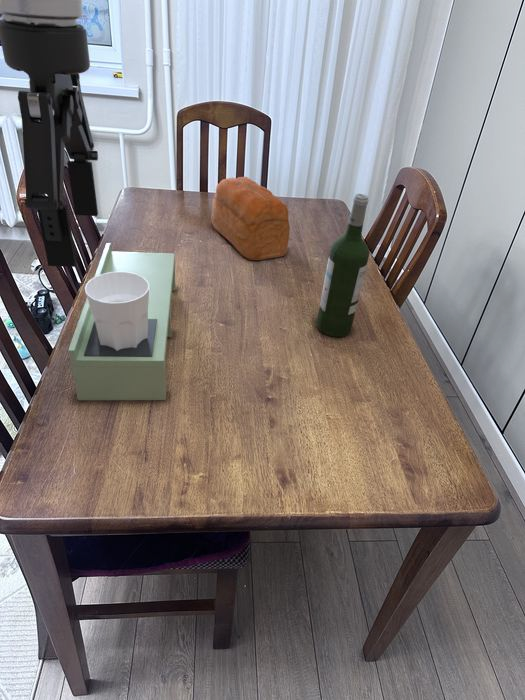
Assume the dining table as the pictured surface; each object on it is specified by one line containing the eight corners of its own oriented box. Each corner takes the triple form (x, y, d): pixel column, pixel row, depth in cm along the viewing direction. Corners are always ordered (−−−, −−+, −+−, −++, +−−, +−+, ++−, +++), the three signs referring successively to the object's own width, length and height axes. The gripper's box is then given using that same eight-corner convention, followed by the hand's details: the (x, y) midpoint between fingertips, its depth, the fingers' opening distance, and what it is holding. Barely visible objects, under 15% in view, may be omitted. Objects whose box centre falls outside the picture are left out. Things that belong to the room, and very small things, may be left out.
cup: (89, 324, 86) (81, 275, 80) (145, 316, 90) (142, 268, 84) (96, 358, 79) (88, 307, 73) (157, 348, 83) (155, 298, 77)
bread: (247, 263, 130) (251, 208, 121) (207, 223, 148) (208, 173, 138) (292, 255, 136) (299, 202, 126) (248, 218, 154) (251, 170, 144)
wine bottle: (355, 336, 107) (389, 204, 89) (321, 338, 105) (348, 203, 87) (344, 316, 113) (373, 189, 95) (312, 317, 111) (335, 188, 93)
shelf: (165, 400, 86) (163, 351, 79) (77, 400, 84) (67, 350, 77) (175, 287, 117) (174, 245, 110) (111, 285, 115) (106, 242, 108)
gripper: (51, 38, 35) (89, 293, 48) (106, 14, 54) (122, 199, 67) (-62, 28, 34) (8, 291, 47) (35, 7, 53) (65, 196, 66)
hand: (75, 237), depth 57 cm, fingers open, 13 cm apart
